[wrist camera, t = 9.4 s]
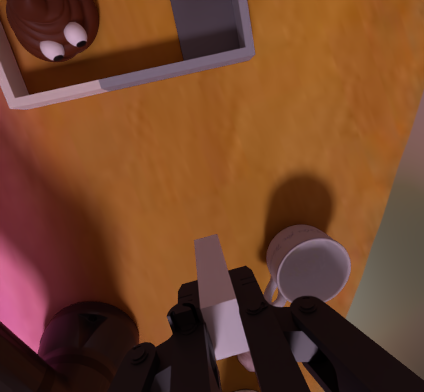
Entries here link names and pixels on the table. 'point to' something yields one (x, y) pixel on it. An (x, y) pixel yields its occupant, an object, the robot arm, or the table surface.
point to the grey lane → (200, 41)
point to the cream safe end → (17, 92)
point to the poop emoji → (53, 26)
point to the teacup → (305, 265)
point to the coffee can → (245, 391)
